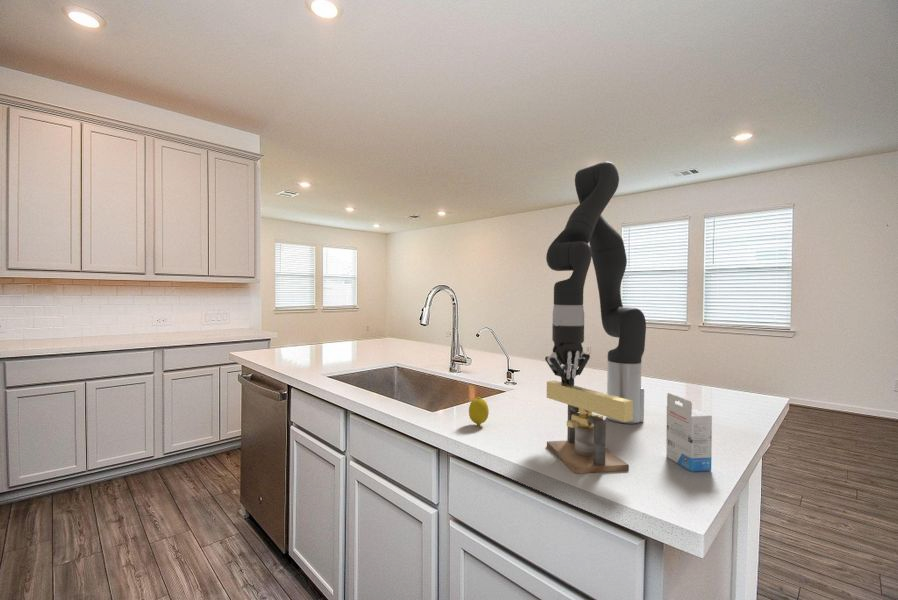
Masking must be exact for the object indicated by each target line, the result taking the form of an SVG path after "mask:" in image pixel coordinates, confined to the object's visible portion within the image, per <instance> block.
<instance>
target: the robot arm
mask: <svg viewBox="0 0 898 600" xmlns="http://www.w3.org/2000/svg"><path fill="white" fill-rule="evenodd" d="M574 175H575V177H574V186H575V190H576V191H575V192H576V195H577V198H578V202H579V205H577V207H575V209H573V211H572V213H570V216H569V217H568V220H567V221H566V225H565V227H564V229H563V230H562V231H561V232H560V233H559V234H558V235H557V236H556V238H554V239H553V241H552V242H551V244H550V245H549V247H548V249H547V251H546V256H545V261H546V264H547V266H548V267H549V268H550V269H551V270H552V271H557V272H563V271H565V272H566V271H567V272H569V271H572V273H571V275H570V277H568V278H567V279H563V280H559V281H557V282H555V283H554V285H553V308H552V322H551V323H552V326H551V327H552V329H551V330H552V334H551V337H552V339H551V340H552V342H553V344H554V345H553V347H552V353H551V354H550V355H549V356H545V358H544V359H545V360H544V361H545V362H546V363H547V365H548V367H549V368H550V370H551V372H552V373H553V374H554V376H557V377H560V378H561V381H560V382H562V383H566V384H570V385H574V386H575V379H576V377H577V376H581V374H582V372H584V369H585V368H586V365H587V364H588V362H589V360H590V358H591V356H590V355H591V354H589V353H588V354H587V353H586V352H584V348H583V345H582V344H584V342H585V309H584V289H585V283H586V278H587V276H588V271H589V269H590V266H591V263H592V264H593V267H594V272H595V277H596V284H597V289H598V295H599V296H598V297H599V305H600V308H599V309H600V317H601V324H602V328H603V330H604V331H605V333H606V334H607V335H608V336H609V337H613V338H618V345H617V347H615V348H614V349H610V350H609V351H607V367H606V368H607V370H606V371H607V373H606V374H607V375H606V376H607V381H606V382H607V383H606V384H607V385H606V386H607V387H606V391H607V392H606V394H609V395H613V396H616V397H620V398H624V399H628V400H632V401H633V420H632V421H627V422H622V421H619V420H616V419H613V418H610V417H606V418H607V419H608V420H610V421H612V422H616V423H621V424H630V425H631V424H632V425H633V424H639V423H641V422H644V421H645V389H644V388H643V387H642V360H643V356H644V352H645V348H646V347H645V346H646V332H647V321H646V318H645V313H644V312H643V311H642V310H641V309H639V308H637V307H625V306H623V301H622V297H621V295H622V294H621V287H622V286H621V285H622V281H623V278H624V275H625V272H626V269H627V264H628V262H627V261H628V259H627V254H626V249H625V243H624V240H623V237H622V236H621V235H620V233H619V231H617V230H616V229H615V228H614V227H613V226H612V225H611V224H610V223H609V222H608V221H607V220H606V219H605V218H604V217H603V215H602V213H603V212H604V210H605V208H606V207H607V205H608V204H609V202H610V201H611V199H612V198H613V196H615V194H616V191H617V190H618V188H619V182H620V177H619V171H618V169H617V166H616V165H615V164H614V163H613V162H611V161H603V162H599V163H596V164H593V165H591V166H590V165H589V166H587V167H584V168H581V169H579V170H578V171H576V173H575V174H574ZM591 261H592V262H591Z"/></svg>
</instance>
